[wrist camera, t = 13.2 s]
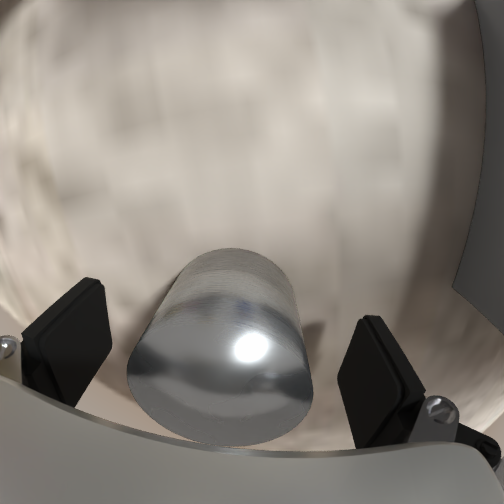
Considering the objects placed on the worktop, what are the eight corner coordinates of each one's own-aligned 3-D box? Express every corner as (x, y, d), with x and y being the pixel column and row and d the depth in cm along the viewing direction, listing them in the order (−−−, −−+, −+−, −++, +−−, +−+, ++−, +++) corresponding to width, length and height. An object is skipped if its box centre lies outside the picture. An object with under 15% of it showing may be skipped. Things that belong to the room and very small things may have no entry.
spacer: (306, 257, 11) (336, 336, 6) (283, 359, 12) (290, 451, 7) (174, 240, 10) (114, 305, 6) (174, 344, 12) (140, 429, 7)
